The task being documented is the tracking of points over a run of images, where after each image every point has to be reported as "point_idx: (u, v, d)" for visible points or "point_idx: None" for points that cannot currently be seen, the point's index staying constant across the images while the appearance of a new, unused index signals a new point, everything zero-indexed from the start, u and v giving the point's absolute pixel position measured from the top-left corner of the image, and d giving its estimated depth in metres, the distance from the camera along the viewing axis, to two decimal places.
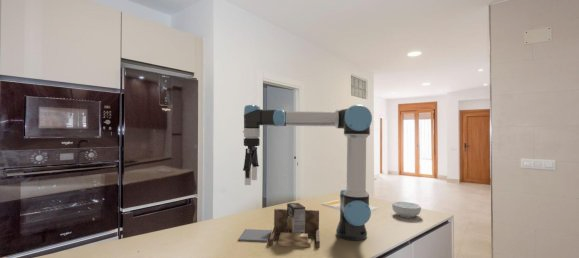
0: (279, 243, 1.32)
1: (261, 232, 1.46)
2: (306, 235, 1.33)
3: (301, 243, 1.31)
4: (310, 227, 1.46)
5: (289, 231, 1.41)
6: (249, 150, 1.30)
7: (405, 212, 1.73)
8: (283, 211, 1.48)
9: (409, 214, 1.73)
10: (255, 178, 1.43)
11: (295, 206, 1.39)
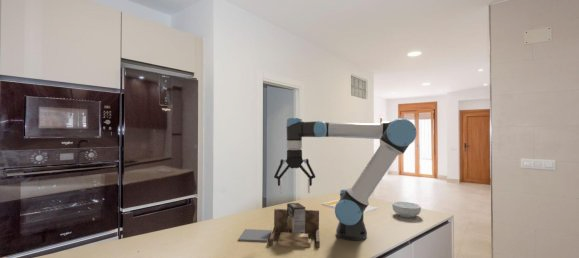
0: (279, 243, 1.32)
1: (261, 232, 1.46)
2: (306, 235, 1.32)
3: (301, 243, 1.31)
4: (310, 227, 1.46)
5: (289, 231, 1.41)
6: None
7: (405, 212, 1.73)
8: (283, 211, 1.48)
9: (409, 214, 1.73)
10: (308, 191, 1.40)
11: (295, 206, 1.39)
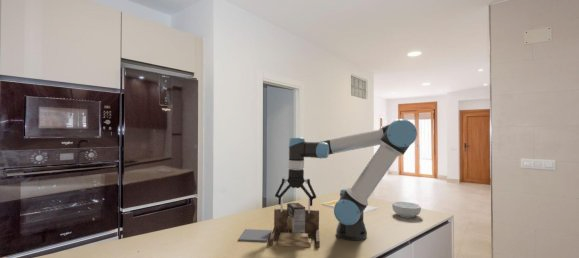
0: (279, 243, 1.32)
1: (261, 232, 1.46)
2: (306, 235, 1.32)
3: (301, 243, 1.31)
4: (310, 227, 1.46)
5: (289, 231, 1.41)
6: (282, 179, 1.42)
7: (405, 212, 1.73)
8: (283, 211, 1.48)
9: (409, 214, 1.73)
10: (308, 211, 1.40)
11: (295, 206, 1.39)
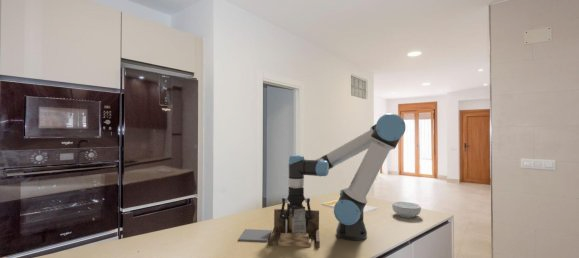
0: (279, 243, 1.31)
1: (261, 232, 1.46)
2: (307, 234, 1.33)
3: (301, 243, 1.31)
4: (310, 227, 1.46)
5: (289, 231, 1.41)
6: (282, 199, 1.42)
7: (405, 212, 1.73)
8: None
9: (409, 214, 1.73)
10: None
11: (295, 206, 1.39)
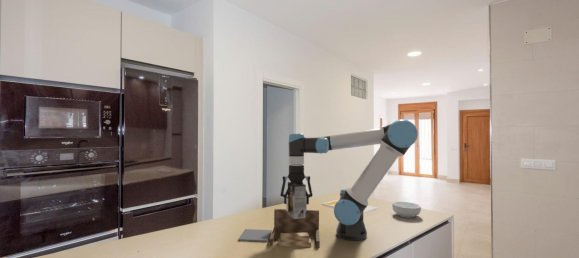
0: (280, 244, 1.31)
1: (261, 232, 1.46)
2: (307, 234, 1.34)
3: (301, 243, 1.31)
4: (310, 227, 1.46)
5: (290, 209, 1.41)
6: None
7: (405, 212, 1.73)
8: (283, 211, 1.48)
9: (409, 214, 1.73)
10: None
11: (295, 184, 1.39)
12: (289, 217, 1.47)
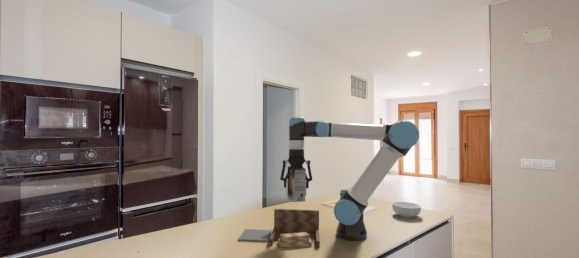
0: (280, 244, 1.31)
1: (261, 232, 1.46)
2: (307, 233, 1.34)
3: (302, 243, 1.31)
4: (310, 227, 1.46)
5: (289, 193, 1.41)
6: None
7: (405, 212, 1.73)
8: (283, 211, 1.48)
9: (409, 214, 1.73)
10: None
11: (295, 167, 1.39)
12: (289, 217, 1.47)
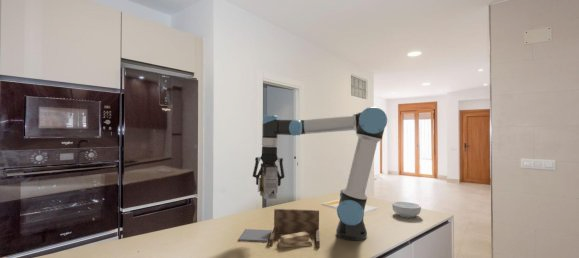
0: (280, 245, 1.30)
1: (261, 232, 1.46)
2: (306, 233, 1.35)
3: (302, 243, 1.31)
4: (310, 227, 1.46)
5: (261, 190, 1.42)
6: None
7: (405, 212, 1.73)
8: (283, 211, 1.48)
9: (409, 214, 1.73)
10: None
11: (268, 165, 1.40)
12: (289, 217, 1.47)
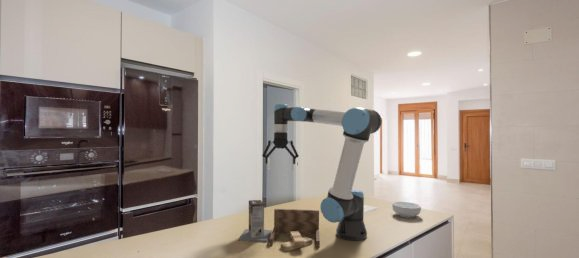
0: (287, 249, 1.26)
1: None
2: (295, 231, 1.38)
3: (305, 242, 1.32)
4: (310, 227, 1.46)
5: (249, 228, 1.43)
6: (268, 141, 1.61)
7: (405, 212, 1.73)
8: (283, 211, 1.48)
9: (409, 214, 1.73)
10: None
11: (254, 203, 1.41)
12: (289, 217, 1.47)
